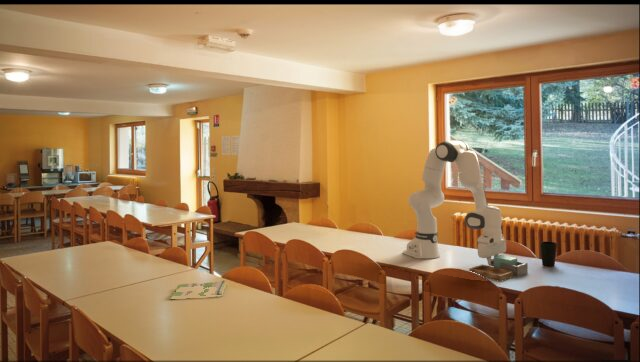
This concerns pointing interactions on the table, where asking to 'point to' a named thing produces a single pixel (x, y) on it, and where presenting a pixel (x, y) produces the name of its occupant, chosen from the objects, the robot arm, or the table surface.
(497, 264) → the green rectangular block
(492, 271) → the tray
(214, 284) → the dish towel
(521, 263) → the bay
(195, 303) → the table surface
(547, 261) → the cup
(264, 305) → the table surface
